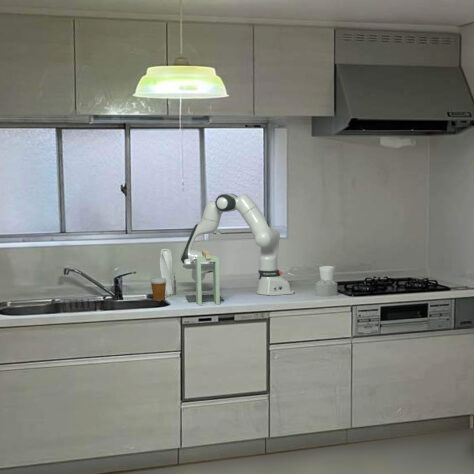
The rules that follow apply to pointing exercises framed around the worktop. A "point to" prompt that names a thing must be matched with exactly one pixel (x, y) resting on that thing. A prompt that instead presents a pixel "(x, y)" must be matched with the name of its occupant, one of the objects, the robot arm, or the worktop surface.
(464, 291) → the worktop surface
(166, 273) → the skyscraper
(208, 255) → the bar
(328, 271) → the foam cup
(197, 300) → the bridge
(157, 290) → the disposable coffee cup
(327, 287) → the lumpy-topped squat cylinder
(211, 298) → the mat
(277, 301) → the worktop surface
